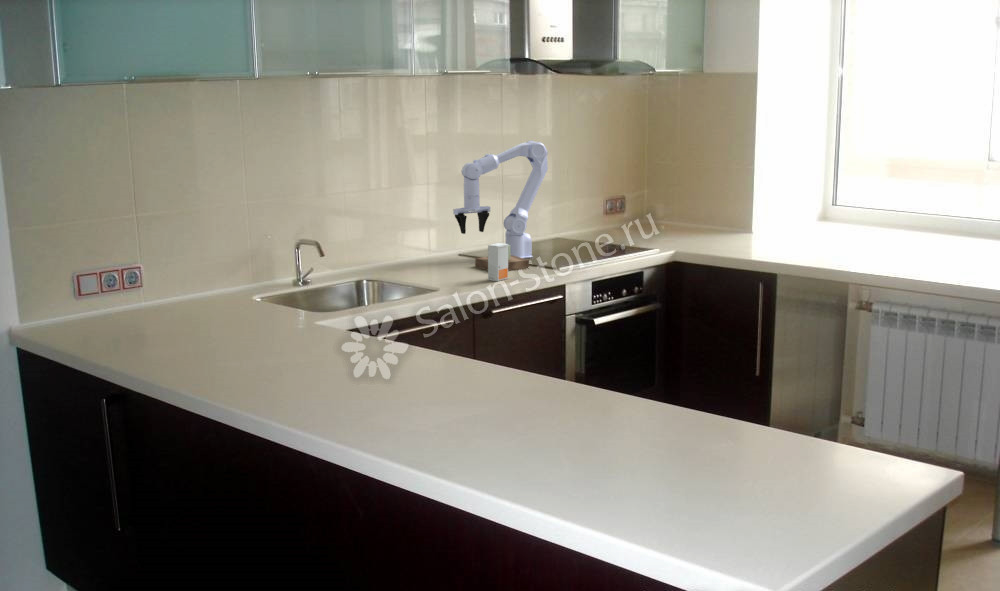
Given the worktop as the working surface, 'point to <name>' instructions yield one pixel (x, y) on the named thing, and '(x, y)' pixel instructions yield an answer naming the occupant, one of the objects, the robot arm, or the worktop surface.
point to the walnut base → (513, 263)
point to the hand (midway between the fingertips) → (472, 232)
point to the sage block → (509, 252)
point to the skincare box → (497, 261)
